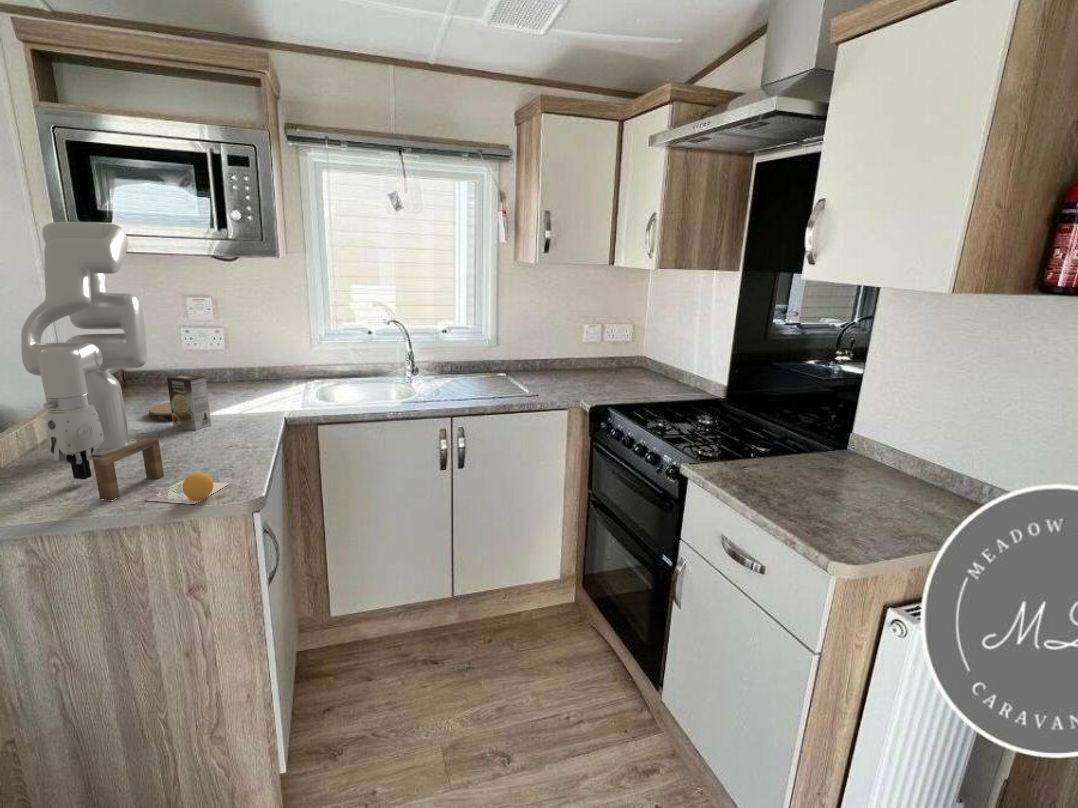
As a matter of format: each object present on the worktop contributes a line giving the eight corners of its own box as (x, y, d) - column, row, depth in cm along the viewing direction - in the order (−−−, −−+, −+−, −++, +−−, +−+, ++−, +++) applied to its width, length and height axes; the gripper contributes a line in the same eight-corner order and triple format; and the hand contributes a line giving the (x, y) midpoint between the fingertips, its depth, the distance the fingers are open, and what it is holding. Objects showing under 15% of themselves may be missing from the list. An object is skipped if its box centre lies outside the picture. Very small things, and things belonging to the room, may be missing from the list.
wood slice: (177, 424, 182) (175, 415, 181) (137, 419, 186) (136, 410, 185) (216, 411, 197) (215, 403, 196) (179, 407, 201) (178, 399, 200)
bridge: (100, 500, 127) (92, 459, 124) (153, 475, 141) (147, 437, 138) (112, 501, 126) (105, 460, 124) (164, 476, 141) (158, 438, 138)
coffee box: (172, 427, 178) (164, 376, 174) (189, 421, 184) (182, 372, 180) (196, 430, 175) (189, 379, 171) (212, 424, 181) (206, 375, 177)
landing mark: (144, 501, 127) (144, 500, 127) (183, 480, 138) (183, 479, 138) (194, 505, 125) (194, 504, 125) (229, 484, 137) (229, 483, 137)
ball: (197, 508, 126) (174, 497, 127) (217, 496, 132) (195, 485, 132) (200, 487, 124) (176, 475, 124) (221, 475, 129) (198, 464, 130)
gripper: (51, 412, 122) (67, 491, 127) (111, 395, 137) (123, 467, 142) (20, 410, 123) (37, 489, 128) (83, 393, 138) (96, 465, 142)
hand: (82, 477), depth 135 cm, fingers closed
